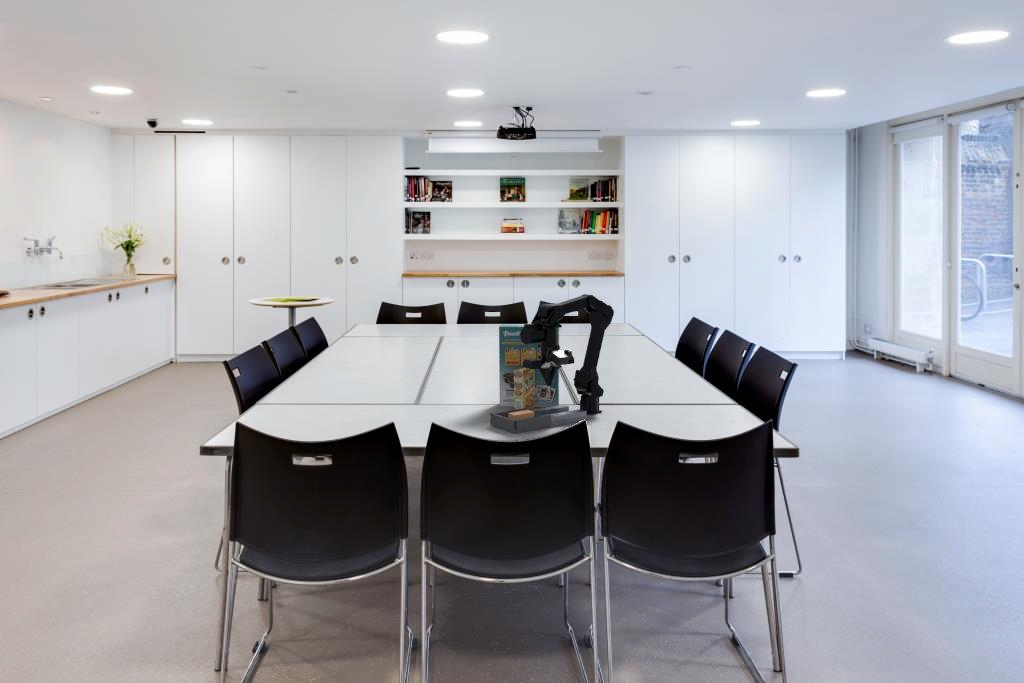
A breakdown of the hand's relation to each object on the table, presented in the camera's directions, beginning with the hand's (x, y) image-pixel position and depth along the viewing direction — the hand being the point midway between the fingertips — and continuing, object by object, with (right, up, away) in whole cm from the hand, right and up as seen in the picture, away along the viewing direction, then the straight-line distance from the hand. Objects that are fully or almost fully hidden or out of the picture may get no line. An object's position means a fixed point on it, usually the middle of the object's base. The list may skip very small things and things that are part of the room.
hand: (549, 386), depth 291 cm
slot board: (+3, -12, +2) cm, 12 cm away
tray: (-10, -13, -7) cm, 18 cm away
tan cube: (-11, -12, -8) cm, 18 cm away
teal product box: (-6, -9, +26) cm, 28 cm away
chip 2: (-8, -12, -6) cm, 15 cm away
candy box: (-8, -10, +19) cm, 23 cm away
